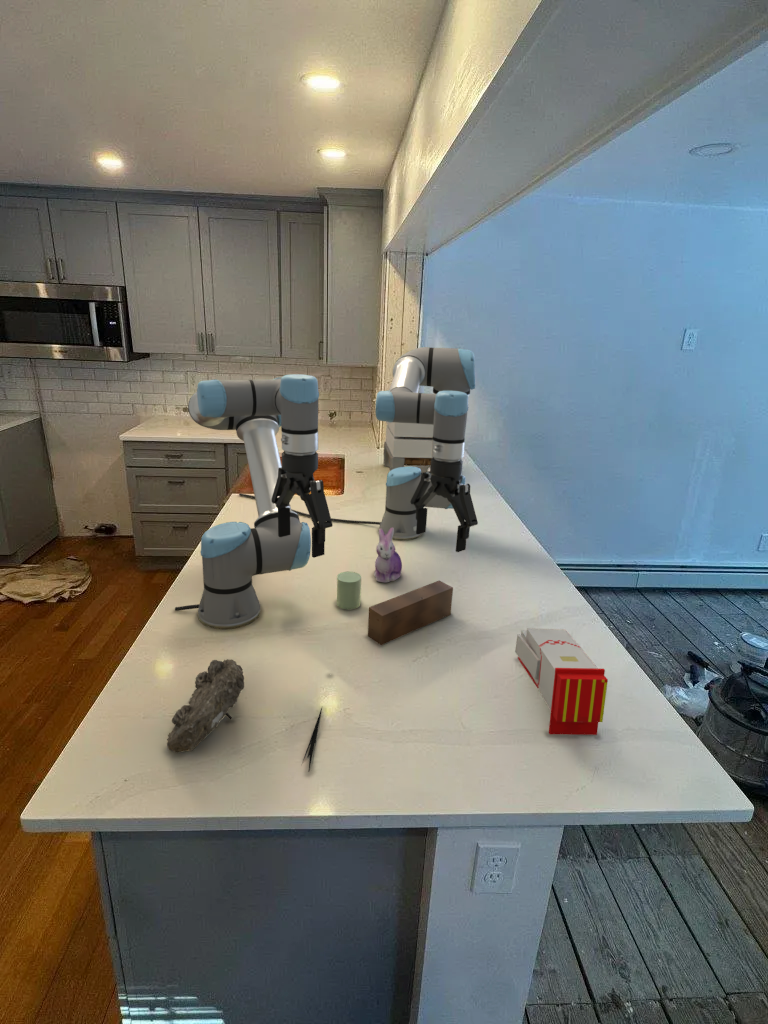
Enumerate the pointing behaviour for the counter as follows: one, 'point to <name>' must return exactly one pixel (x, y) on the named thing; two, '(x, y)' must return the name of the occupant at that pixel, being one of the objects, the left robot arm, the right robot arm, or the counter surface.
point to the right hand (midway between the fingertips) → (440, 541)
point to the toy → (564, 680)
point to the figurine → (387, 558)
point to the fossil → (206, 705)
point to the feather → (313, 740)
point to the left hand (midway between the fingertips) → (300, 545)
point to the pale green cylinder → (348, 590)
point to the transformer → (408, 445)
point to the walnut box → (409, 612)
